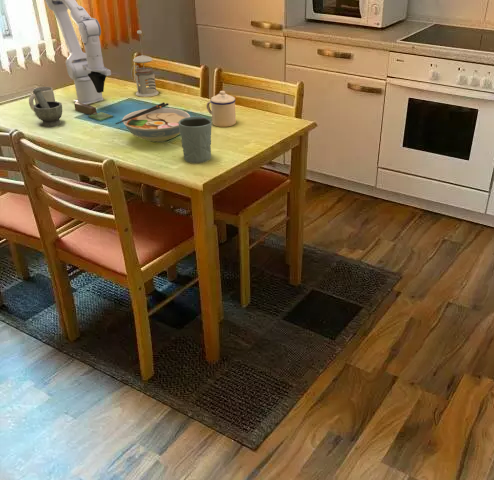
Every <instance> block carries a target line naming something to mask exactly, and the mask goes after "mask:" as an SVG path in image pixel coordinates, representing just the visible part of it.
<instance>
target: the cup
mask: <svg viewBox="0 0 494 480" xmlns="http://www.w3.org/2000/svg"><path fill="white" fill-rule="evenodd" d="M35 89H41V93H42V95H43V96H44V98H45V100H46V102H47V101H56V97H55V93H54V89H53V87H52V86H38V87H34V88H32V90H31V91H32V94H31V95H29V98H28V105H29V107H30V109H31V111H33V112H34V113H35V111H34V105H35V104H38V103H39V102H38V100H37V98H36V95H35V94H34V93H33V91H34V90H35Z"/></svg>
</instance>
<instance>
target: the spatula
mask: <svg viewBox="0 0 494 480" xmlns="http://www.w3.org/2000/svg"><path fill="white" fill-rule="evenodd" d="M73 107H74V110H75V111H77V112H79V113H83V114H85V115H88V118H89V119H92V120H96V121H98V122H103V121H105V120H108V119H111V118H114V115H113V114H109V113H106V112H103V111H100V112H98V111H97V107H95V106H93V105H90V104H88V105H86V104H83V103H80V102H74V103H73Z"/></svg>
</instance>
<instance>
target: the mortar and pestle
mask: <svg viewBox="0 0 494 480" xmlns="http://www.w3.org/2000/svg"><path fill="white" fill-rule="evenodd" d="M33 93H34V94H35V95H36V98H37V100H38V102H39V103H38V104H35V103H34V111H35V112H34V111H33V112H34V113H35V114H34V115H35V116H36V117H37V118H38V120H40V121H42V126H44V127H49V128H52V127H57V126H59V125H61V120H60V119H61V118H62V115H63V104H62V102H60V101H56V100H55V101H47V102H46V100H45V98H44V96H43V95H42V93H41V89H35V90H34V91H32V94H33Z"/></svg>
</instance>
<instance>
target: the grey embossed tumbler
mask: <svg viewBox="0 0 494 480" xmlns="http://www.w3.org/2000/svg"><path fill="white" fill-rule="evenodd" d="M178 123H179V129H180V134H179V135H180V138H181V146H182V152H183V153H182V154H183V159H184V161H185V162H187V163H190V164H203V163H206V162H209V161H210V160H211V159H212V125H213V123H212V119H210V118H208V117H203V116H190V117H188V118H184V119H181V120H180V121H179V122H178Z"/></svg>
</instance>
